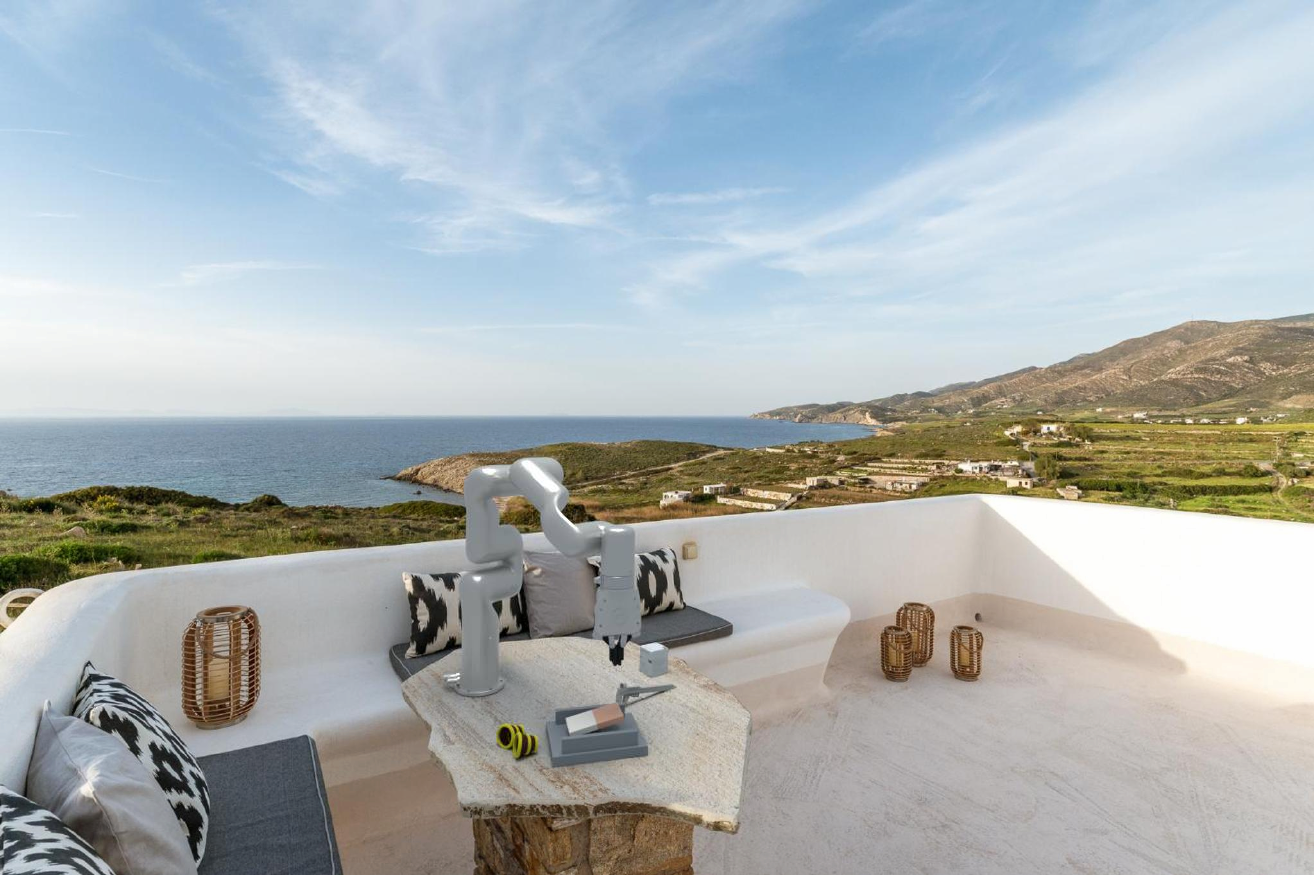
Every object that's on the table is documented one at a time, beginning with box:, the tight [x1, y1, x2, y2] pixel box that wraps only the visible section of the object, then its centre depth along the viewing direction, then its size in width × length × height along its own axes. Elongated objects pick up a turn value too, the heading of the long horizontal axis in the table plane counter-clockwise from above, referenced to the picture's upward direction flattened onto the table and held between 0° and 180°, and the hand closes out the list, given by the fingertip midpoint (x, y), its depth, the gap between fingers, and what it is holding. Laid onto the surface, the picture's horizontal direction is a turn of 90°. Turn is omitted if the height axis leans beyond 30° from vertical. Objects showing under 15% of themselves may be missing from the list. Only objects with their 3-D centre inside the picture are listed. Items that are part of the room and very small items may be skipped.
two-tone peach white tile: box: [566, 701, 625, 736], centre depth 135 cm, size 12×7×1 cm, turn 106°
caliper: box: [615, 682, 677, 708], centre depth 159 cm, size 20×1×6 cm, turn 133°
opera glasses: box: [496, 723, 539, 759], centre depth 132 cm, size 10×5×5 cm, turn 43°
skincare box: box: [638, 642, 669, 678], centre depth 176 cm, size 6×6×7 cm
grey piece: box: [545, 701, 649, 768], centre depth 135 cm, size 20×16×5 cm
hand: (616, 663), depth 136 cm, fingers closed
